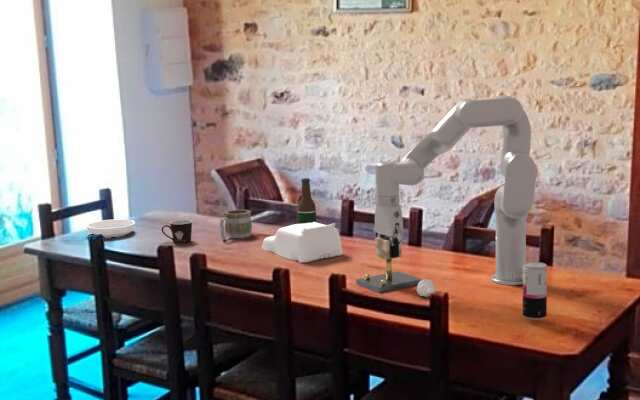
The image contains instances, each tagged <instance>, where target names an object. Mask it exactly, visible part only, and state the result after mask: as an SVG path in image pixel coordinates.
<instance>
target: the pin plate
mask: <svg viewBox="0 0 640 400" xmlns="http://www.w3.org/2000/svg"><path fill="white" fill-rule="evenodd" d="M355 280H356V285H358V286H361V287H363V288H366V289H369V290H370V291H374V292H376V293H384V292H389V291H390V292H391V291H395V290H400V289H404V288H410V287H415V286H418V283H419V282H420V281H421V280H423V279H422V278H419V277H417V276H415V275H411V274H407V273H405V272H402V271H399V270H398V271H394V272H393V259H387V260H386V259H385V273H384V274H383V273H382V274H377V275H373V276H371V275H370V273H365V274H364V277H362V278H356V279H355Z"/></svg>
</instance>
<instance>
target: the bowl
mask: <svg viewBox="0 0 640 400" xmlns="http://www.w3.org/2000/svg"><path fill="white" fill-rule="evenodd" d="M135 227H136V222H135V220H132V219H126V218H125V219H124V218H122V219H121V218H119V219H118V218H115V219H114V218H113V219H105V220H104V219H103V220H102V219H101V220H98V221H93V222H90V223H87V224H86V229H87V232H88V233H89V234H90V235H92V234H102V235H103V236H104V237H105V238H104V239H112V238H111V237H117V238H119V237H118V236H122V237H124V236H123V235H126V234H128V235H130V234H131V232H132V231H134V230H135ZM126 236H127V235H126Z"/></svg>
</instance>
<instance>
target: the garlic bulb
mask: <svg viewBox="0 0 640 400" xmlns="http://www.w3.org/2000/svg"><path fill="white" fill-rule="evenodd" d="M416 292H417V294H418V295H419V296H421V297H424V298H429V297H430V296H431V295H430V294H431V293H433V292H435V293H436V286H435V285H434V283H433V282H432V280H430V279H428V278H425V279H422V280H421V281H420V282H419V283H418V285H416ZM433 294H434V293H433Z"/></svg>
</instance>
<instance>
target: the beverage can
mask: <svg viewBox="0 0 640 400" xmlns="http://www.w3.org/2000/svg"><path fill="white" fill-rule="evenodd" d="M547 298H548V267H547V264H546V263H544V262H540V261H528V262H526V263H524V266H523V284H522V316H523V317H524V318H526V319H528V320H542V319H544V318H546V317H547V312H548V311H547V310H548V309H547V307H548V305H547V303H548V301H547V300H548V299H547Z"/></svg>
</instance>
